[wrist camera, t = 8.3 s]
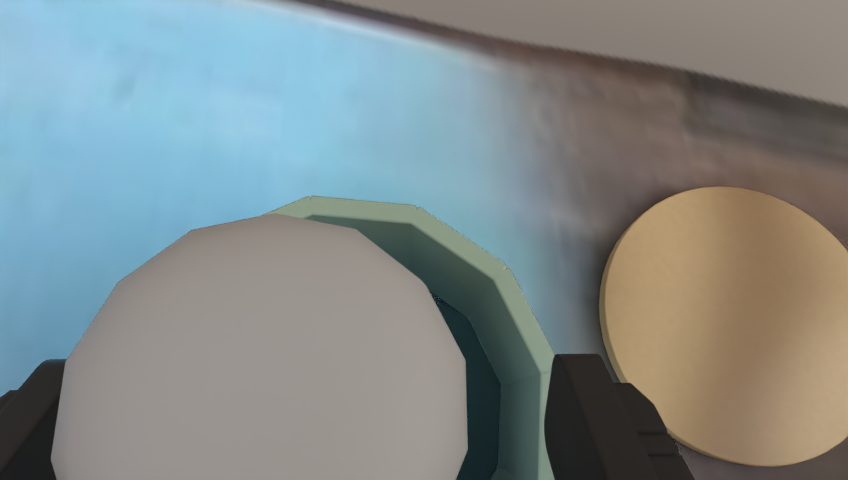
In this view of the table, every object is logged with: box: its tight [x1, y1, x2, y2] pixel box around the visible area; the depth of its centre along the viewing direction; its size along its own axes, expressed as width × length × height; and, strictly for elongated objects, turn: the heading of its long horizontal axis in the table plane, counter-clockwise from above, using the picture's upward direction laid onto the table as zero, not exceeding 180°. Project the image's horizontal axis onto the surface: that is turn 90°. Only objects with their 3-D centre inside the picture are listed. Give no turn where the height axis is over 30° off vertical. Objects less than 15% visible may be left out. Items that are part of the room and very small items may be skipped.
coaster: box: [599, 186, 848, 467], centre depth 19 cm, size 9×9×1 cm
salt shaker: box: [51, 213, 468, 480], centre depth 11 cm, size 6×6×13 cm
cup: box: [261, 196, 555, 480], centre depth 15 cm, size 10×10×6 cm
